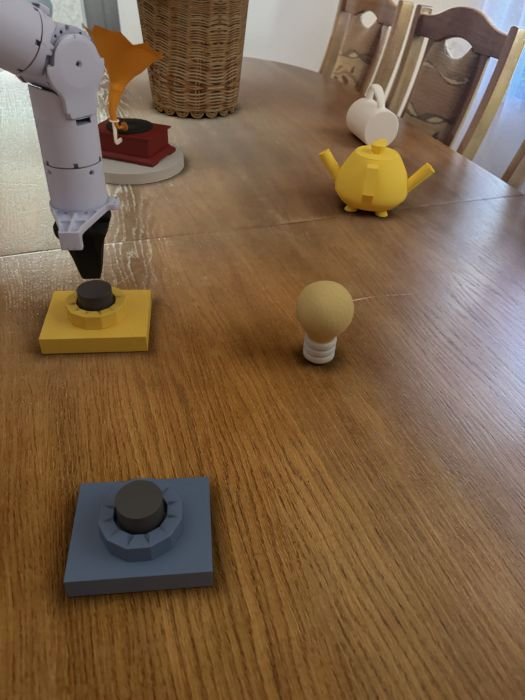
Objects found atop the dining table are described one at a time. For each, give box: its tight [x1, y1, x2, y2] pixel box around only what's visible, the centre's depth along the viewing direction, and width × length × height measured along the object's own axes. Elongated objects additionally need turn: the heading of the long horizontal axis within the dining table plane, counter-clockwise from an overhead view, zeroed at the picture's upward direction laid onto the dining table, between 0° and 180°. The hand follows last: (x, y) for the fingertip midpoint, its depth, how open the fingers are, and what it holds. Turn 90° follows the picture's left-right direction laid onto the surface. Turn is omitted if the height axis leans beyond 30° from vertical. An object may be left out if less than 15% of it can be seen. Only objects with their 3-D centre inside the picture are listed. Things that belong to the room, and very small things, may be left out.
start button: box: [115, 480, 164, 534], centre depth 44 cm, size 4×4×2 cm
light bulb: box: [295, 280, 355, 365], centre depth 63 cm, size 6×6×10 cm
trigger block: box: [37, 285, 153, 355], centre depth 68 cm, size 12×10×4 cm
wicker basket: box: [136, 0, 250, 120], centre depth 133 cm, size 35×35×33 cm
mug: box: [345, 83, 400, 147], centre depth 124 cm, size 8×10×12 cm
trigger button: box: [75, 279, 114, 311], centre depth 66 cm, size 4×4×2 cm
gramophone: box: [82, 24, 185, 186], centre depth 103 cm, size 20×20×25 cm
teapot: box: [318, 139, 436, 218], centre depth 97 cm, size 20×18×11 cm
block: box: [62, 476, 214, 598], centre depth 45 cm, size 11×9×4 cm
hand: (92, 275), depth 64 cm, fingers closed
